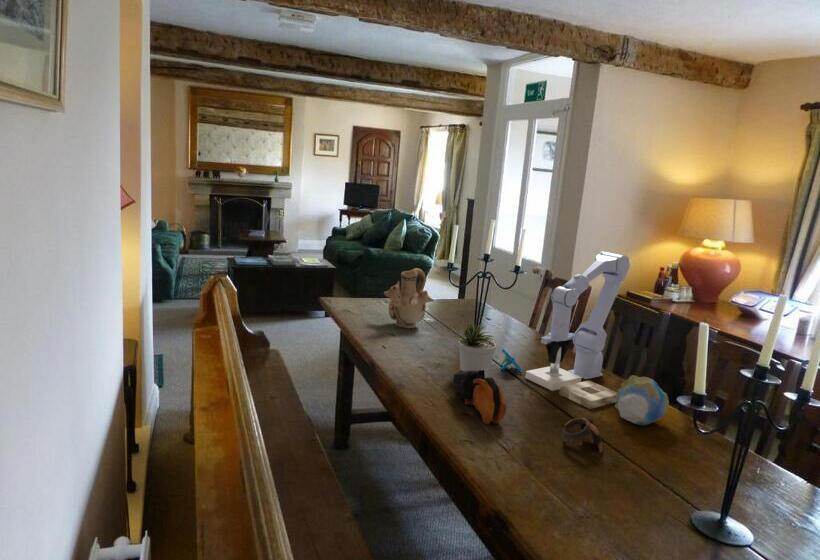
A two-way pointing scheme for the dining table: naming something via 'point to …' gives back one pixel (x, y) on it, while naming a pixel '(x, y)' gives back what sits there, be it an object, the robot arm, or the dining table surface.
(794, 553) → the dining table surface
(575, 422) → the pottery mug
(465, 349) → the potted plant
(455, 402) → the dining table surface
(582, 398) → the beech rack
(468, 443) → the dining table surface
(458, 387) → the tool
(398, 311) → the ceramic vessel
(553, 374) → the socket block
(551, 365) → the steel peg
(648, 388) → the decorative rock
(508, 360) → the blue irregular piece
